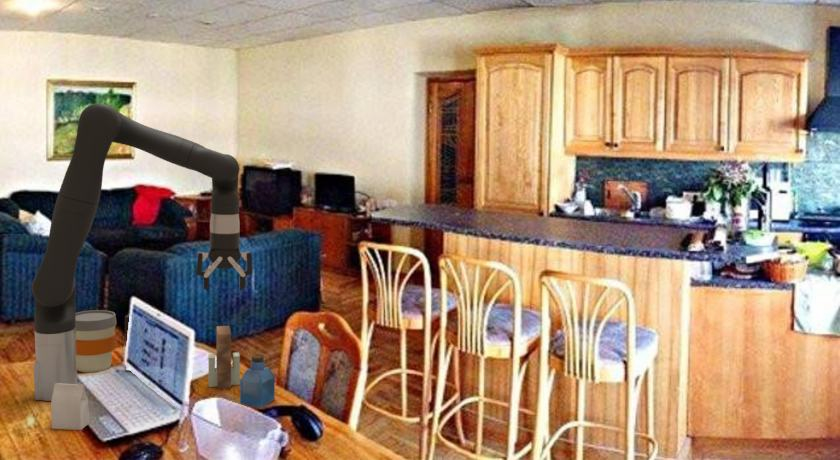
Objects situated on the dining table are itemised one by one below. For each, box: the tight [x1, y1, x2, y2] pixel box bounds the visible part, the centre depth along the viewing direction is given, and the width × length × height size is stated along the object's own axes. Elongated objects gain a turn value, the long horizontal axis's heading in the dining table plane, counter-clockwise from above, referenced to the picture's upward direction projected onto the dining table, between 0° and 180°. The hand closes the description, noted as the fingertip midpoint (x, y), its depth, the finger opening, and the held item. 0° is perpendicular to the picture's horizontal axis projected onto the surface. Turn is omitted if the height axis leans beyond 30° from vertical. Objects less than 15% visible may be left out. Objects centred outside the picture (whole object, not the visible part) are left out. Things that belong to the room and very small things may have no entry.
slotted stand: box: [207, 352, 241, 388], centre depth 196 cm, size 8×3×8 cm, turn 108°
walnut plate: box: [216, 325, 232, 390], centre depth 195 cm, size 3×8×15 cm, turn 18°
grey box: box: [50, 383, 90, 431], centre depth 165 cm, size 4×7×10 cm, turn 88°
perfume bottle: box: [239, 353, 276, 408], centre depth 184 cm, size 6×6×12 cm
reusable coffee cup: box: [75, 309, 118, 373], centre depth 204 cm, size 13×13×15 cm
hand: (224, 290), depth 193 cm, fingers open, 8 cm apart
